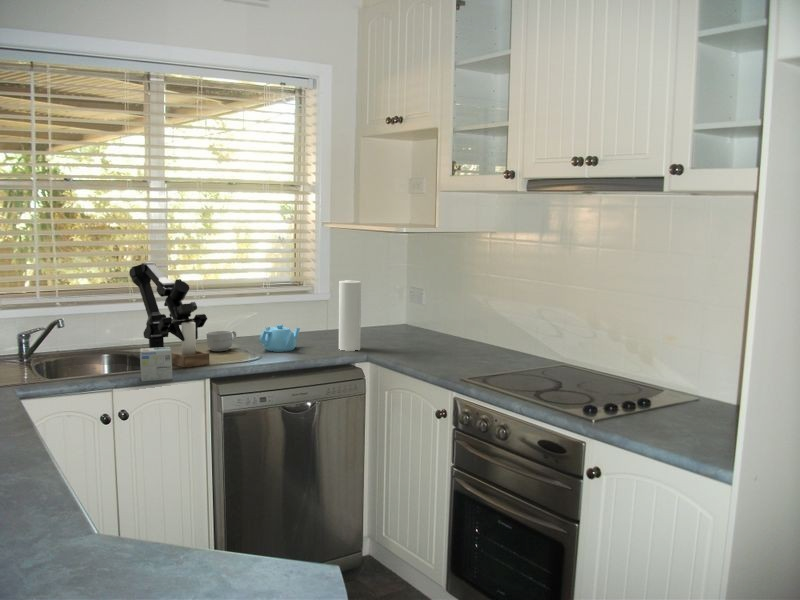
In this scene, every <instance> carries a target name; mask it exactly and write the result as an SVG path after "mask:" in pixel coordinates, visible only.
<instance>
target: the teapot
mask: <svg viewBox="0 0 800 600" xmlns="http://www.w3.org/2000/svg"><path fill="white" fill-rule="evenodd" d="M300 330H301V328H300V327H295V328H294V330H293V331H292V330H291V329H290V328H289V327H285V326H284V325H283V324H276V327H269V326H266V327H265V330H261V331H260V332H261V333H260V336H259V339H258V342H259V343H261V345H263V347H264V349H265V350H266V351H268V352H272V351H273V352H274V353H285V352H284V351H286V352H291V351H294V350H295V348H296V346H297V341H298V337H299V333H300ZM273 352H272V353H273Z"/></svg>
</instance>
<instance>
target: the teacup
mask: <svg viewBox="0 0 800 600" xmlns="http://www.w3.org/2000/svg"><path fill="white" fill-rule="evenodd" d="M205 335H206V345H207V348H209V349H210V350H211V351H212V352H223V351H228V350H229V349H231V347H232V345H233V342H234V341H235V340H236V338H237V332H236V331H235V330H216V331H215V330H212V331H208V332H206V333H205Z"/></svg>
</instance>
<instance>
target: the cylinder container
mask: <svg viewBox="0 0 800 600" xmlns="http://www.w3.org/2000/svg"><path fill="white" fill-rule="evenodd" d="M361 307H362V281H360V280H353V279H347V280H346V279H345V280H339V282H338V350H339V349H340V350H339V351H341V350H345V351H344V352H356V351H355V350H358V351H360V350H361V334H362V333H361V332H362V331H361V321H362V320H361V318H362V314H361V313H362V310H361V309H362V308H361Z"/></svg>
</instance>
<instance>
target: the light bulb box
mask: <svg viewBox="0 0 800 600" xmlns="http://www.w3.org/2000/svg"><path fill="white" fill-rule="evenodd" d="M171 352H172V348H171V346H164V347H162V348H149V347H148V348H147V347H146V348H140V349H139V360H140V361H139V363H140V364H139V365H140V380H141V382H151V381H165V380H167V381H168V380H173V364H172V354H171Z"/></svg>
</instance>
